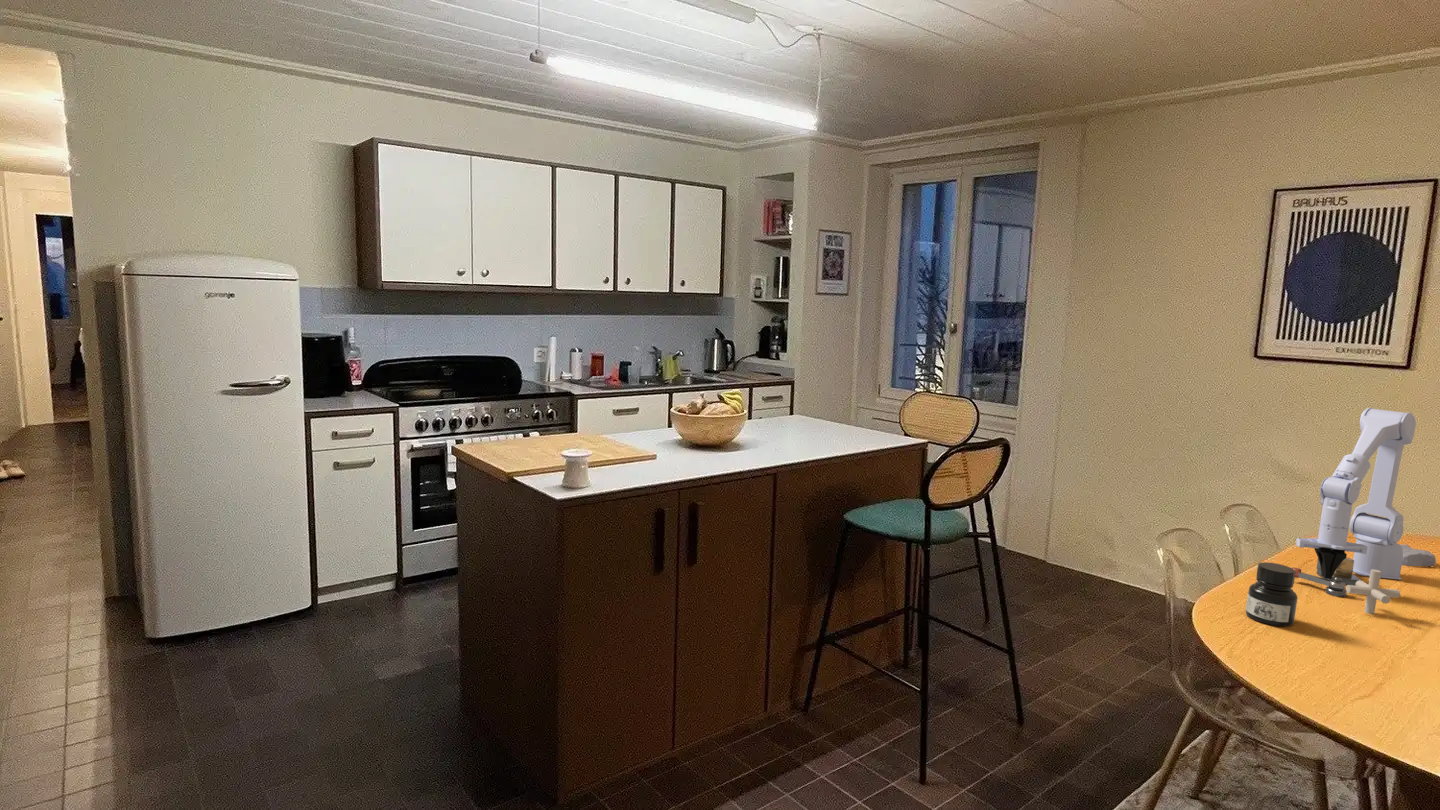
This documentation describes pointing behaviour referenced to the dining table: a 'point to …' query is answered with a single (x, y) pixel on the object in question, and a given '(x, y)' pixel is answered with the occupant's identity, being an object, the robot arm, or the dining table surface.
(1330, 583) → the lever
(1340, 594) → the lever base
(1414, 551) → the stone block
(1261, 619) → the ink bottle
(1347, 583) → the press
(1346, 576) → the housing
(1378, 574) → the pipe connector
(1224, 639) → the dining table surface
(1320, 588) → the dining table surface
